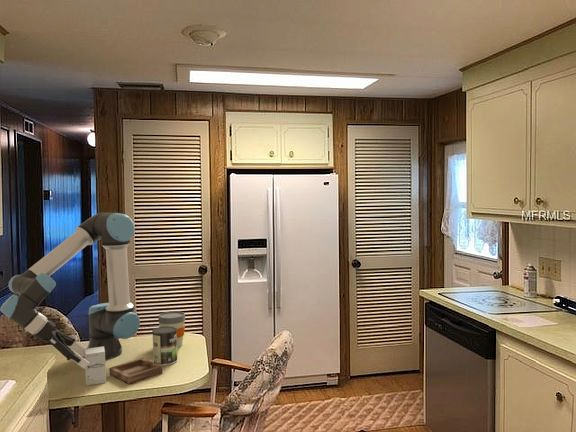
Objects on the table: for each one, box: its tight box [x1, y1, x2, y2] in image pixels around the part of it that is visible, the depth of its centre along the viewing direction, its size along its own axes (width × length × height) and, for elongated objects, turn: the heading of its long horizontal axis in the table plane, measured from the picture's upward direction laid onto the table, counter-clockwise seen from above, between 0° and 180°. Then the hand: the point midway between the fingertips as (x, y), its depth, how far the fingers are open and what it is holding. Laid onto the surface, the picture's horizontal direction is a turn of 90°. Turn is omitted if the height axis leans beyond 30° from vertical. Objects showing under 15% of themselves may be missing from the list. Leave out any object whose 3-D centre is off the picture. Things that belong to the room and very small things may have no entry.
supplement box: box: [84, 346, 107, 387], centre depth 194 cm, size 7×7×13 cm
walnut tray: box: [108, 357, 163, 386], centre depth 201 cm, size 15×15×3 cm
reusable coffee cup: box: [157, 310, 186, 349], centre depth 234 cm, size 13×13×15 cm
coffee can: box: [151, 326, 179, 367], centre depth 214 cm, size 10×10×14 cm
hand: (86, 359), depth 192 cm, fingers open, 13 cm apart
